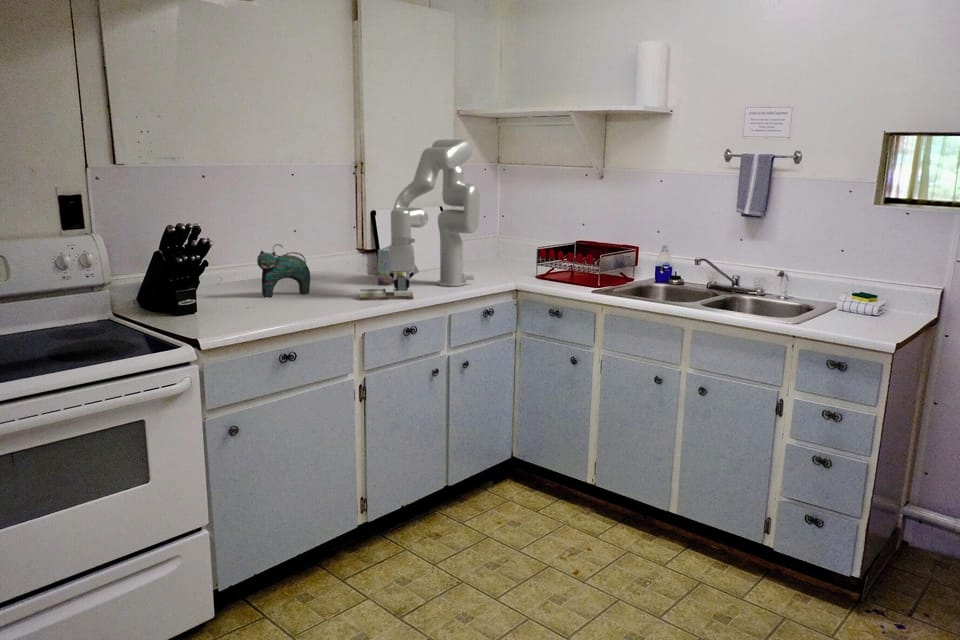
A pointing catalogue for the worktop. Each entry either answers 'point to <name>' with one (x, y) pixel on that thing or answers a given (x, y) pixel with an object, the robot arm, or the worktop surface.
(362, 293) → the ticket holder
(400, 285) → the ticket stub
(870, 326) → the worktop surface
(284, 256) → the ceramic cat
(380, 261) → the snack box
